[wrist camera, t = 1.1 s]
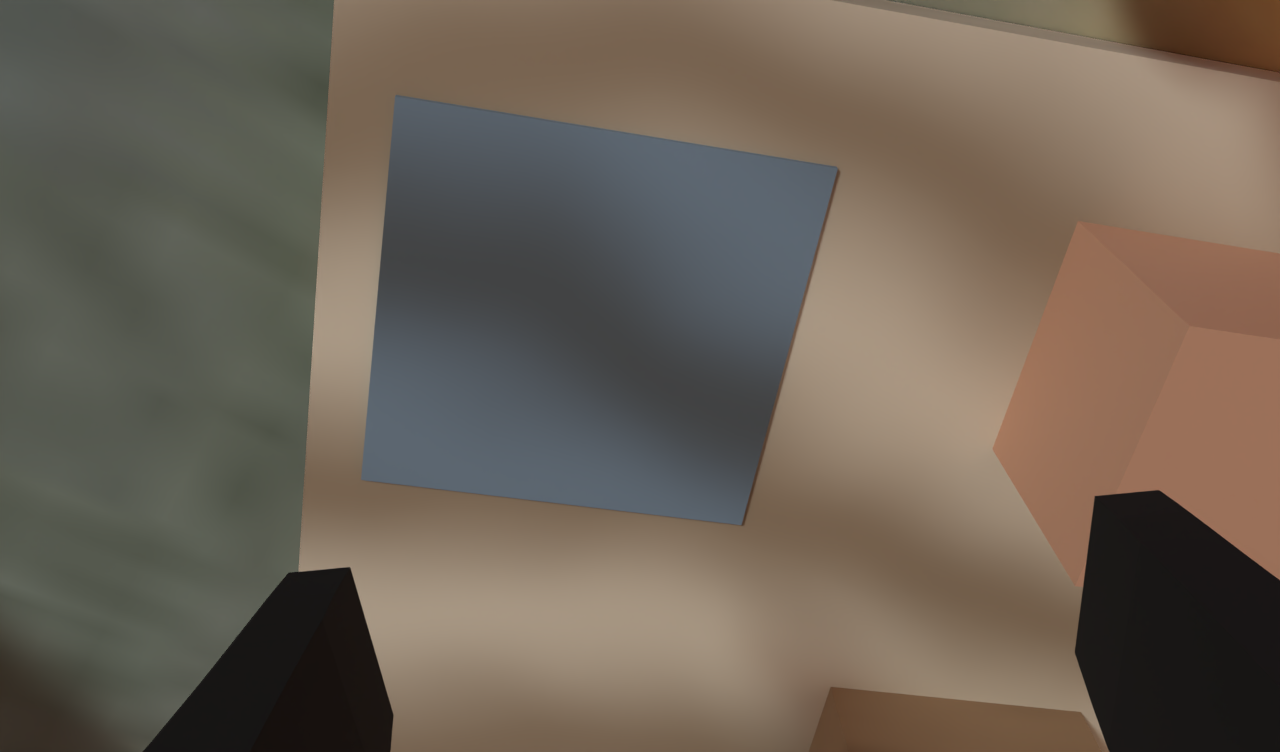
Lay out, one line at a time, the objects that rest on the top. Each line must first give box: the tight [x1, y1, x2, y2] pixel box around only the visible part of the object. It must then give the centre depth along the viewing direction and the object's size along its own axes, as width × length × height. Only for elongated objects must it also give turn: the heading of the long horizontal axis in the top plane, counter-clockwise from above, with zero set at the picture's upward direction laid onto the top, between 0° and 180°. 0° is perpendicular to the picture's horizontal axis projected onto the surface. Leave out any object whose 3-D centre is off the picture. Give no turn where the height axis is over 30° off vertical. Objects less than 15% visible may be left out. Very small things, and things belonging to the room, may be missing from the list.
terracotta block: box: [992, 221, 1280, 587], centre depth 19 cm, size 4×4×4 cm
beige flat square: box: [299, 0, 1280, 752], centre depth 23 cm, size 20×18×1 cm
